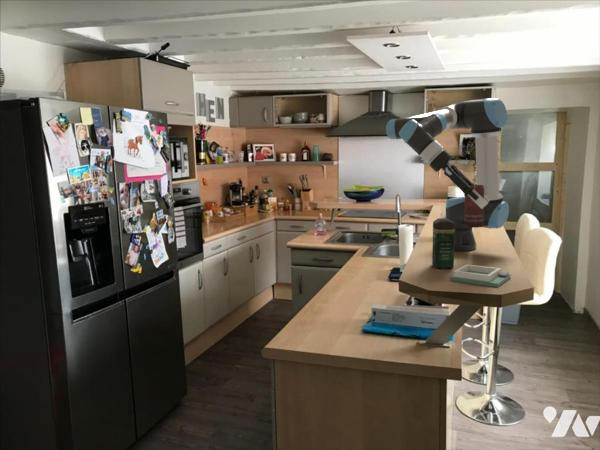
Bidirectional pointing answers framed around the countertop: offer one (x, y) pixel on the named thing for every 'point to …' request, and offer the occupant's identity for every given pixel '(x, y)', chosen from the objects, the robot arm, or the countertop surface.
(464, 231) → the robot arm
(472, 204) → the can
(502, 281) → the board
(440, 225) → the coffee jar
